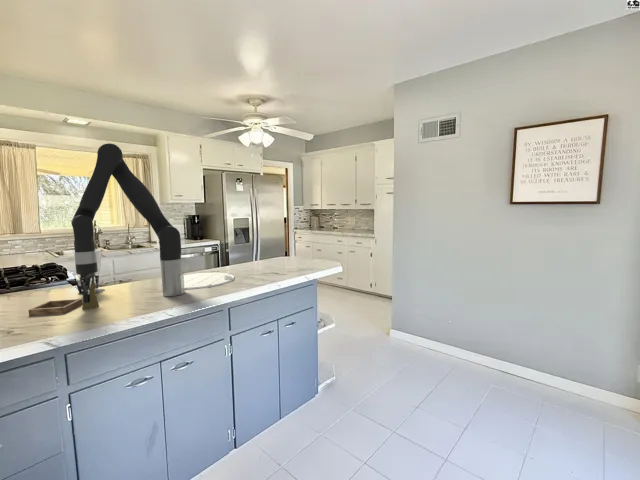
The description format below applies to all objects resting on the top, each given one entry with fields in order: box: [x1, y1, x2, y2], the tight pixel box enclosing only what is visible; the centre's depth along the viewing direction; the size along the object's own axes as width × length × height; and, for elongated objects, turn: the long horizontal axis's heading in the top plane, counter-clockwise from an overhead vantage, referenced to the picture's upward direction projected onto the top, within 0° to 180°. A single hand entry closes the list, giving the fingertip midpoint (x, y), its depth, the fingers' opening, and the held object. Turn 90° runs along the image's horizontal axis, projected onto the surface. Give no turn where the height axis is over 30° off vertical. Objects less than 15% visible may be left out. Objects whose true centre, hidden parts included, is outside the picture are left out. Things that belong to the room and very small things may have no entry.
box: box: [28, 298, 83, 317], centre depth 139 cm, size 13×13×2 cm
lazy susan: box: [161, 272, 235, 290], centre depth 188 cm, size 40×39×3 cm
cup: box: [73, 248, 106, 296], centre depth 167 cm, size 12×12×22 cm
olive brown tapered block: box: [81, 282, 100, 311], centre depth 140 cm, size 6×6×11 cm
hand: (90, 301), depth 141 cm, fingers closed on olive brown tapered block, 4 cm apart
